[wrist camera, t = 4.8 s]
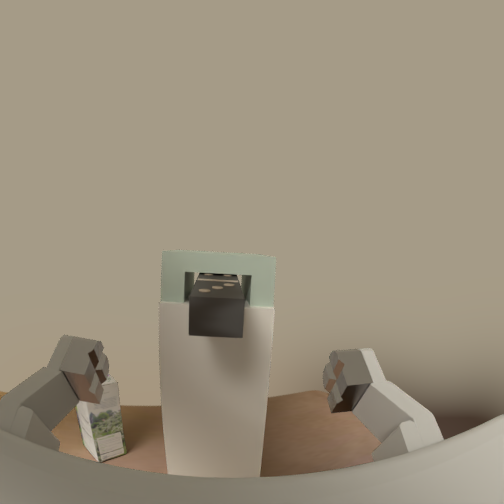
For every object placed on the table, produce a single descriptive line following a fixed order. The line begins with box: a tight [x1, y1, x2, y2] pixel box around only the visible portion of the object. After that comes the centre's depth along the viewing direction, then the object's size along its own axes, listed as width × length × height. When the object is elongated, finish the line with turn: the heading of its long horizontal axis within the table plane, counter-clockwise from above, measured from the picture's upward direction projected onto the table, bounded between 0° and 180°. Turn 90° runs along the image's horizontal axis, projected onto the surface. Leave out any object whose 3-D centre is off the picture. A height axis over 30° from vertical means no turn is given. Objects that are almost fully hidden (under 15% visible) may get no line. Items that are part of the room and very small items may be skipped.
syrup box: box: [75, 374, 127, 462], centre depth 37 cm, size 6×6×14 cm
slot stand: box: [159, 250, 276, 478], centre depth 38 cm, size 12×14×33 cm
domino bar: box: [189, 273, 245, 338], centre depth 29 cm, size 4×14×3 cm, turn 6°
